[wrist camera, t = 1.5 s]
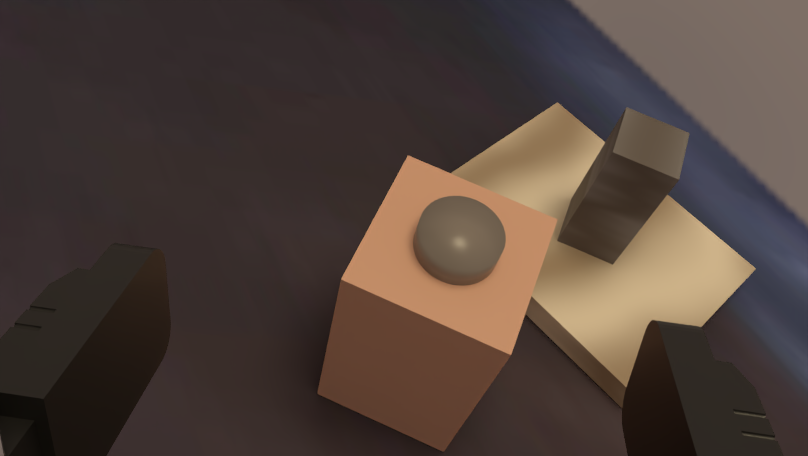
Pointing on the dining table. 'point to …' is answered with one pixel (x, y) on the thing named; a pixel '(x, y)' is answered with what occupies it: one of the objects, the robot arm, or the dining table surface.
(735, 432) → the robot arm
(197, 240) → the dining table surface
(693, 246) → the shaft board
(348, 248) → the dining table surface
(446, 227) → the square capped bottle
